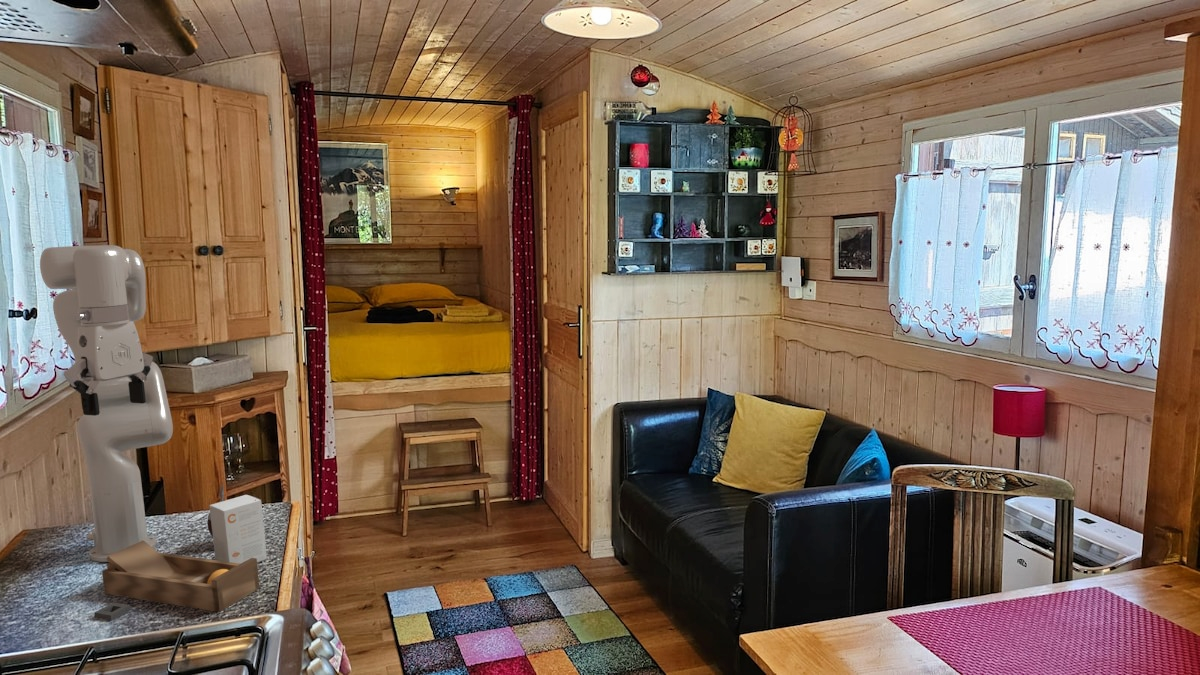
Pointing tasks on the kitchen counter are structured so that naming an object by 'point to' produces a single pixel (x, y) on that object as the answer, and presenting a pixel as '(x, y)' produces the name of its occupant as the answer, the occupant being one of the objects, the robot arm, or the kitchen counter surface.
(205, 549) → the kitchen counter surface
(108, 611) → the square washer
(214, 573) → the ball
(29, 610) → the kitchen counter surface
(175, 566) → the brown long open tray
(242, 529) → the small box
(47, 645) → the kitchen counter surface
